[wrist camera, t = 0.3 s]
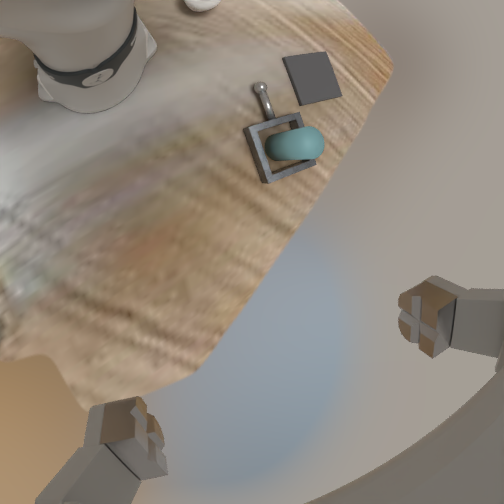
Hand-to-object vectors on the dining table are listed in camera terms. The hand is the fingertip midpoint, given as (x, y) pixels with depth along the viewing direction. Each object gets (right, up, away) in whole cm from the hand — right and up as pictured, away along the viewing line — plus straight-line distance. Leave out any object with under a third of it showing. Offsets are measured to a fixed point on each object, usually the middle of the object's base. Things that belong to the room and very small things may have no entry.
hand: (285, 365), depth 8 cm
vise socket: (+2, +23, +37) cm, 44 cm away
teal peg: (+3, +20, +38) cm, 43 cm away
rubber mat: (+9, +33, +37) cm, 51 cm away
